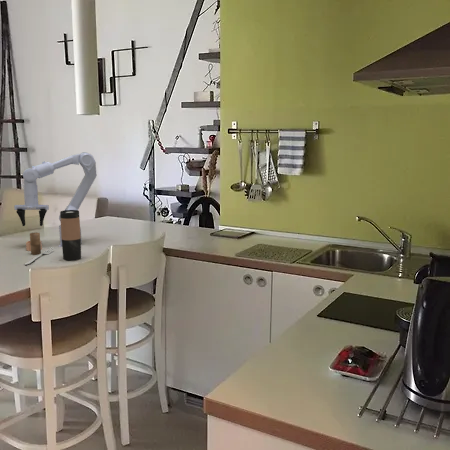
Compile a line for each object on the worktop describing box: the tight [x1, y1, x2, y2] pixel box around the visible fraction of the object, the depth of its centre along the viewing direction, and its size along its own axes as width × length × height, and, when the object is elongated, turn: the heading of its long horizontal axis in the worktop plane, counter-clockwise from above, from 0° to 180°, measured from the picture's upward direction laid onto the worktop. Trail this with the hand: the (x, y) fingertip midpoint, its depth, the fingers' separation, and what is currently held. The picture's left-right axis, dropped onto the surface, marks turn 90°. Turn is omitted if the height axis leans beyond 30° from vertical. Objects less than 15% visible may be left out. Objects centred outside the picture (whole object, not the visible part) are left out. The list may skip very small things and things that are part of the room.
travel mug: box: [59, 209, 82, 262], centre depth 220 cm, size 8×8×20 cm
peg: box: [29, 232, 42, 256], centre depth 229 cm, size 4×4×9 cm
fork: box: [24, 246, 55, 266], centre depth 223 cm, size 3×24×2 cm, turn 173°
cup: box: [25, 240, 43, 252], centre depth 237 cm, size 6×6×4 cm
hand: (32, 225), depth 240 cm, fingers open, 7 cm apart
